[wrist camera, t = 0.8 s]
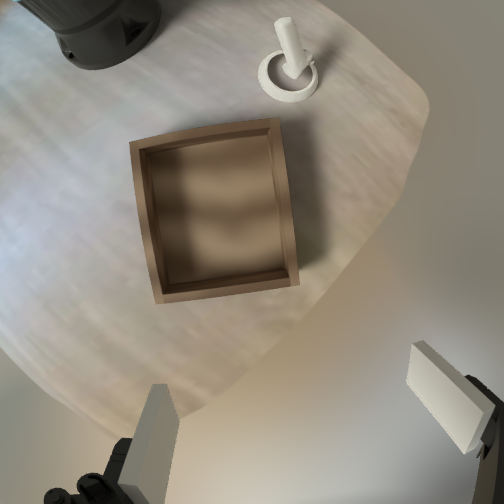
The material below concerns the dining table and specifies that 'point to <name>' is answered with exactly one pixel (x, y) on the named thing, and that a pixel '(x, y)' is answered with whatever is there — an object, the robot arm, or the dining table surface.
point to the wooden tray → (215, 211)
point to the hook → (289, 63)
